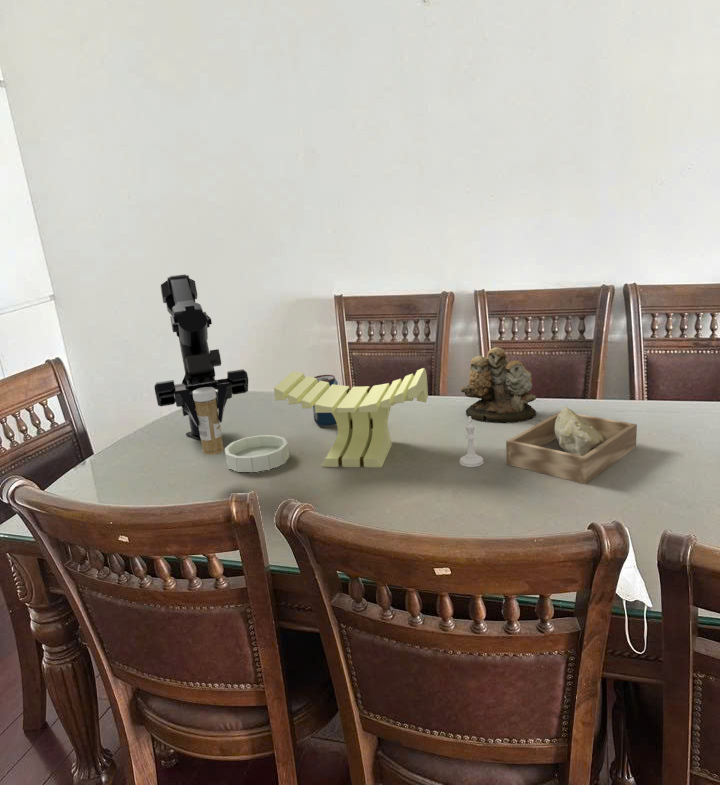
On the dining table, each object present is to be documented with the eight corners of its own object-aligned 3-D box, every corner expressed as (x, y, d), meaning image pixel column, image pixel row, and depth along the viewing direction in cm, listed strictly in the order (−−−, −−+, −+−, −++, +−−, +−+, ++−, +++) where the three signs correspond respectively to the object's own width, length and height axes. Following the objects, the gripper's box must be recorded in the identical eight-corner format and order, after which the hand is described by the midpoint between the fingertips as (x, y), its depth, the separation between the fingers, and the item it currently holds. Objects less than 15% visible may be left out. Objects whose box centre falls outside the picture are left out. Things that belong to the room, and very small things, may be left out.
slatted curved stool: (430, 439, 153) (426, 364, 148) (421, 467, 138) (416, 384, 133) (305, 439, 160) (296, 367, 155) (283, 466, 145) (273, 387, 140)
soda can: (347, 420, 171) (342, 375, 168) (331, 429, 166) (326, 382, 162) (324, 417, 175) (320, 373, 172) (309, 426, 170) (303, 380, 166)
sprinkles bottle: (228, 451, 138) (218, 388, 134) (207, 457, 136) (197, 394, 132) (218, 445, 142) (209, 384, 138) (198, 451, 139) (188, 389, 135)
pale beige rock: (564, 445, 148) (526, 417, 140) (588, 421, 147) (551, 392, 138) (606, 489, 136) (566, 462, 128) (632, 464, 135) (594, 434, 126)
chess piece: (485, 458, 140) (483, 413, 137) (481, 467, 136) (479, 421, 133) (462, 457, 142) (460, 412, 139) (457, 466, 137) (455, 420, 134)
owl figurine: (459, 423, 163) (455, 354, 158) (464, 408, 173) (461, 343, 169) (536, 423, 158) (534, 352, 153) (536, 407, 169) (535, 341, 164)
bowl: (215, 464, 150) (212, 449, 149) (263, 445, 159) (261, 431, 158) (251, 478, 140) (249, 462, 139) (300, 457, 150) (299, 442, 149)
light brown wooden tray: (506, 464, 136) (506, 441, 135) (561, 432, 151) (561, 410, 149) (585, 484, 124) (585, 459, 123) (636, 447, 139) (636, 424, 138)
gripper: (146, 344, 133) (157, 413, 126) (240, 331, 138) (256, 396, 131) (153, 373, 142) (163, 438, 136) (240, 360, 147) (254, 422, 141)
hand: (209, 423), depth 135 cm, fingers closed on sprinkles bottle, 4 cm apart
